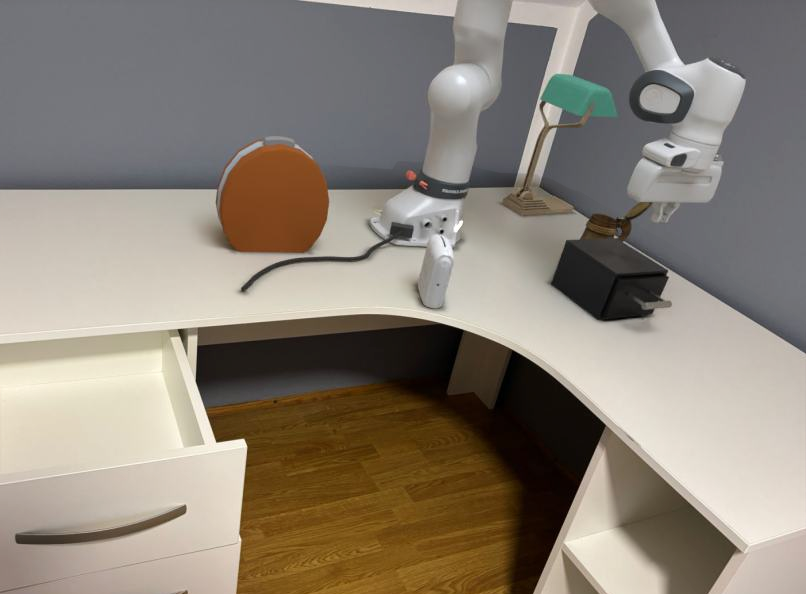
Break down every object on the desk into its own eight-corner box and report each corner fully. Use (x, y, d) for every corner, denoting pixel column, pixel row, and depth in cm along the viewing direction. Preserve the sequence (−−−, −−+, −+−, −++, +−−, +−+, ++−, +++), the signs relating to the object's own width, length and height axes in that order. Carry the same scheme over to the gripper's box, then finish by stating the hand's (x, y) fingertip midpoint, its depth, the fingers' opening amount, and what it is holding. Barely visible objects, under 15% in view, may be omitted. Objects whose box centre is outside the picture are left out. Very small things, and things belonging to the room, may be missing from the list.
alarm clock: (310, 233, 157) (325, 132, 145) (322, 252, 149) (339, 148, 137) (211, 230, 149) (218, 124, 137) (218, 251, 141) (226, 140, 130)
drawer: (672, 327, 144) (689, 290, 139) (624, 333, 138) (641, 293, 134) (606, 281, 159) (620, 246, 154) (560, 284, 153) (573, 248, 149)
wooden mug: (628, 277, 166) (658, 205, 156) (571, 263, 167) (597, 191, 158) (623, 262, 173) (652, 193, 164) (569, 249, 175) (594, 180, 165)
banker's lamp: (493, 198, 199) (530, 70, 181) (546, 196, 209) (586, 74, 191) (530, 221, 188) (573, 87, 170) (584, 217, 198) (630, 90, 180)
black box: (648, 314, 150) (668, 270, 144) (597, 319, 143) (616, 273, 138) (599, 280, 161) (616, 238, 156) (550, 283, 155) (566, 239, 150)
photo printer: (443, 310, 136) (459, 252, 129) (422, 307, 135) (437, 249, 129) (435, 285, 144) (449, 230, 138) (415, 283, 144) (428, 227, 137)
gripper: (713, 149, 137) (683, 215, 144) (637, 145, 128) (609, 215, 136) (739, 160, 132) (706, 228, 140) (662, 157, 124) (632, 229, 131)
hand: (658, 221), depth 138 cm, fingers closed
